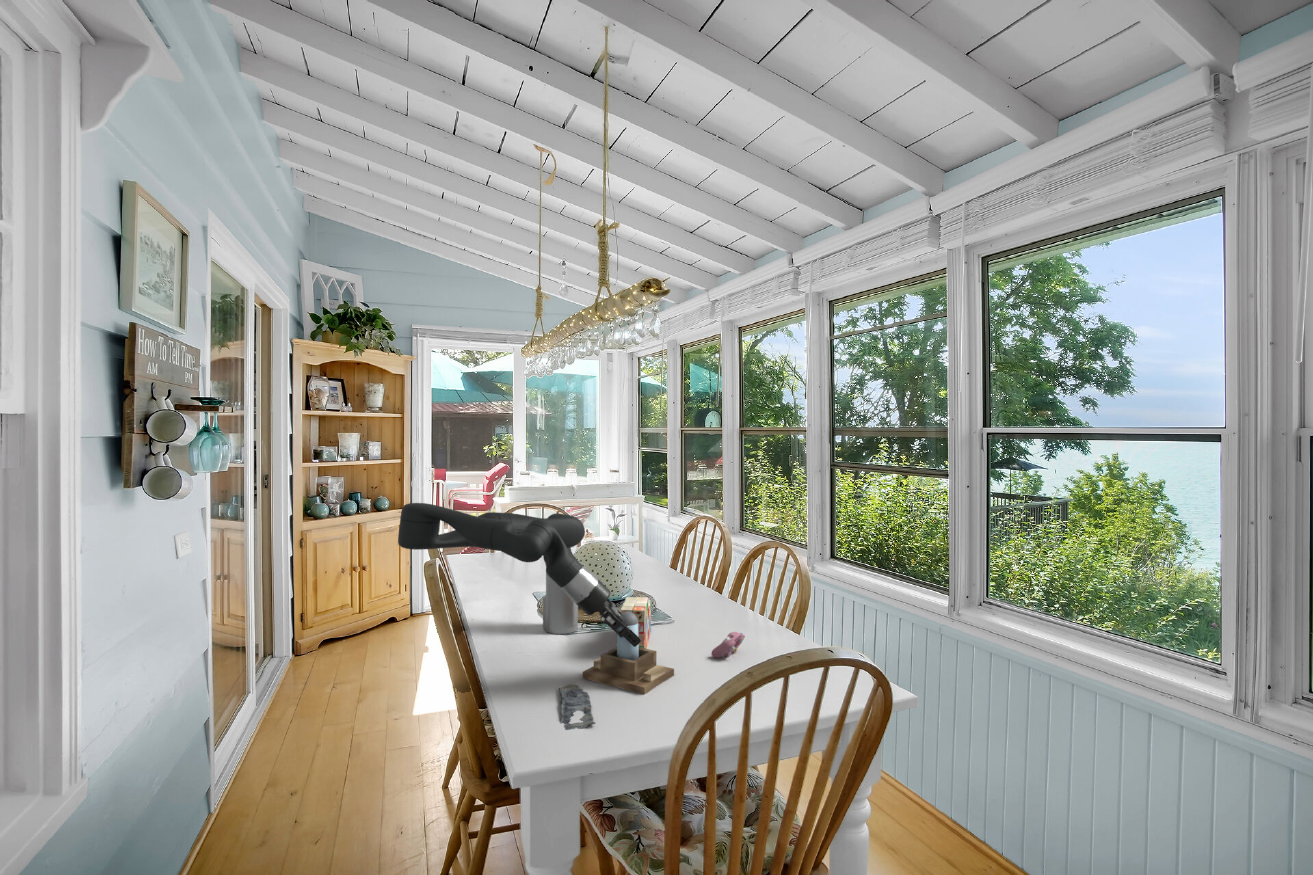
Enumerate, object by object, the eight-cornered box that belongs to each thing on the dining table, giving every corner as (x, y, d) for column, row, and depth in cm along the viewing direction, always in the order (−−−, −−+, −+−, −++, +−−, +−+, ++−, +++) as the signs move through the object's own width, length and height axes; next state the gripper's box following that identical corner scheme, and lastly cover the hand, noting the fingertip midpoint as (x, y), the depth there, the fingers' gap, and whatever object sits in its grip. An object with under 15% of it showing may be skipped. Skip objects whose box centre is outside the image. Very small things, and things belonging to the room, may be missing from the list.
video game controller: (723, 666, 160) (735, 644, 159) (708, 655, 162) (720, 633, 161) (739, 654, 169) (750, 633, 167) (725, 644, 171) (736, 623, 169)
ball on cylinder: (613, 671, 148) (612, 613, 148) (625, 664, 153) (624, 608, 153) (631, 675, 146) (630, 616, 146) (643, 668, 150) (642, 610, 150)
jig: (582, 678, 148) (582, 654, 148) (614, 661, 159) (615, 639, 159) (644, 694, 139) (644, 669, 139) (674, 675, 150) (674, 651, 150)
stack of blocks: (629, 630, 184) (629, 588, 184) (651, 631, 183) (651, 588, 183) (620, 657, 162) (620, 608, 162) (644, 657, 162) (644, 609, 162)
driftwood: (558, 689, 143) (558, 679, 143) (588, 687, 144) (588, 677, 144) (560, 733, 122) (560, 722, 122) (595, 730, 123) (595, 719, 123)
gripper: (573, 593, 154) (622, 640, 156) (574, 610, 140) (628, 661, 142) (595, 571, 155) (643, 618, 157) (599, 585, 141) (652, 637, 142)
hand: (636, 638), depth 149 cm, fingers open, 6 cm apart
